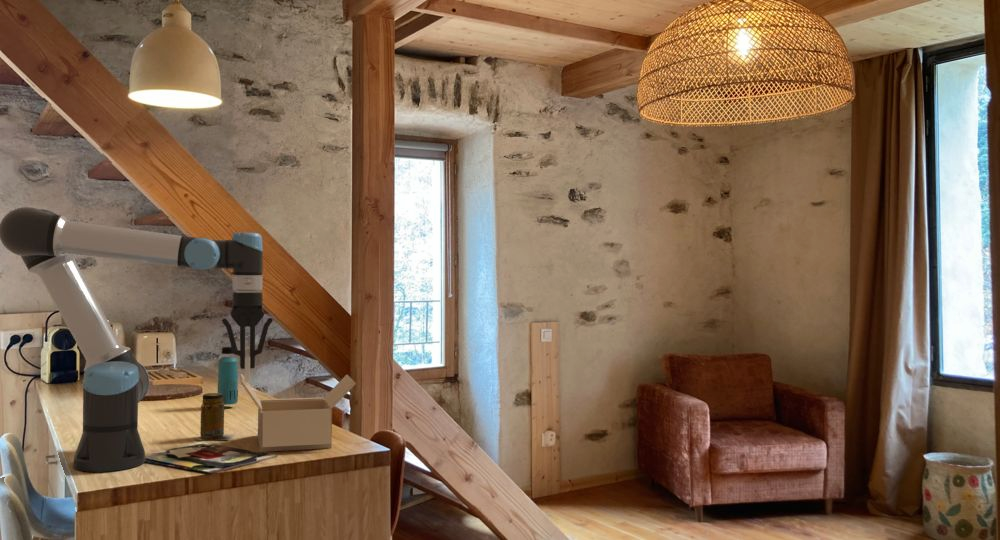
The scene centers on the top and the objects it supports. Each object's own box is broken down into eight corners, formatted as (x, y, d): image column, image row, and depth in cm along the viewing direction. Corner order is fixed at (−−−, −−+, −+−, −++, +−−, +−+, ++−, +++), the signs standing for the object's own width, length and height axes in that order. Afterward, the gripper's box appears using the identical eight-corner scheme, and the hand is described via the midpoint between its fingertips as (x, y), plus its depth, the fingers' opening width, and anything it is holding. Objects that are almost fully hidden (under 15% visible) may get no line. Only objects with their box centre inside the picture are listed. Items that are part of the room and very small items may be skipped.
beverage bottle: (229, 410, 253) (230, 348, 253) (212, 408, 255) (213, 347, 255) (242, 406, 259) (243, 346, 259) (225, 405, 261) (226, 345, 261)
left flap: (260, 411, 200) (240, 382, 198) (258, 401, 214) (239, 374, 212) (262, 410, 200) (242, 381, 198) (260, 400, 214) (241, 373, 212)
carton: (259, 451, 199) (260, 412, 199) (257, 438, 214) (258, 401, 214) (331, 448, 205) (332, 410, 205) (324, 434, 220) (325, 399, 220)
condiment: (202, 435, 217) (203, 392, 217) (234, 435, 218) (235, 392, 218) (195, 441, 210) (196, 396, 209) (227, 441, 210) (228, 396, 210)
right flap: (330, 407, 205) (354, 382, 207) (323, 397, 220) (346, 374, 222) (331, 408, 206) (356, 383, 208) (325, 398, 220) (348, 375, 222)
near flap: (262, 411, 199) (262, 447, 196) (262, 411, 199) (262, 447, 196) (330, 408, 205) (331, 443, 202) (330, 408, 204) (331, 443, 202)
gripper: (221, 292, 200) (221, 384, 200) (273, 291, 204) (273, 382, 204) (221, 291, 207) (221, 380, 207) (272, 290, 211) (272, 377, 211)
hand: (247, 380), depth 206 cm, fingers closed
